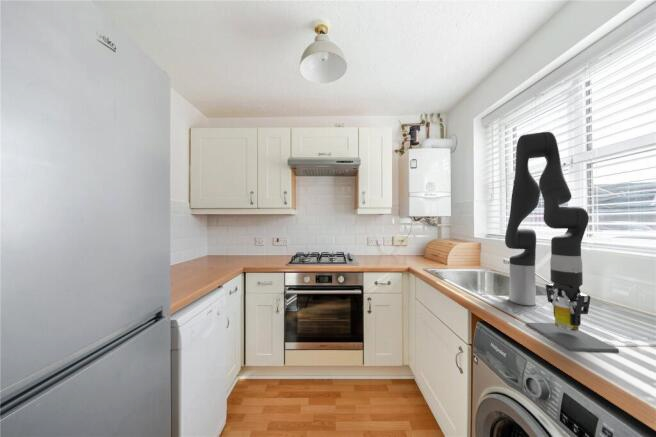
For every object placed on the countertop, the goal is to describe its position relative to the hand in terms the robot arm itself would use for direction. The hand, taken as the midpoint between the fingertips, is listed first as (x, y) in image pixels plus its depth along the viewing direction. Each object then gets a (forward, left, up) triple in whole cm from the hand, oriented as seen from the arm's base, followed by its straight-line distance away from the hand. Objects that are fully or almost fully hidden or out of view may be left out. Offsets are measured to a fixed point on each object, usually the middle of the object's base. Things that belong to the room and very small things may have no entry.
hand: (566, 321), depth 82 cm
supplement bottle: (0, 0, -3) cm, 3 cm away
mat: (0, 0, -5) cm, 5 cm away
